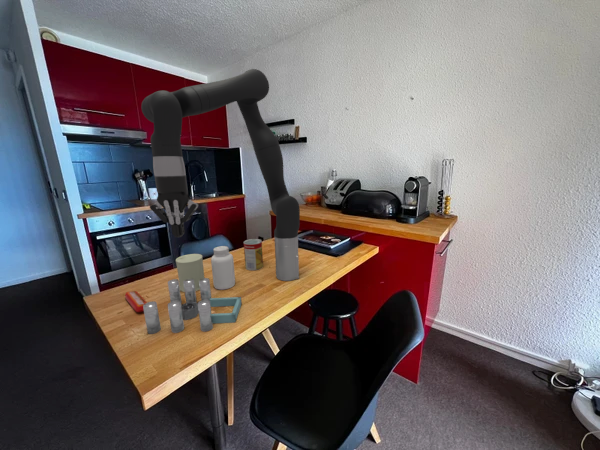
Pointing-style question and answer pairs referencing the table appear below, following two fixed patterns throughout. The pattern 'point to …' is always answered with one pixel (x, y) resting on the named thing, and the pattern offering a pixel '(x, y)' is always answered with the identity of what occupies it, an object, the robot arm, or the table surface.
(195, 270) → the can
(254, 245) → the canned food
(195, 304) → the nut
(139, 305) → the candy bar
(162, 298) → the table surface
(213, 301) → the corral
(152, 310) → the spacers
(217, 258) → the pill bottle
